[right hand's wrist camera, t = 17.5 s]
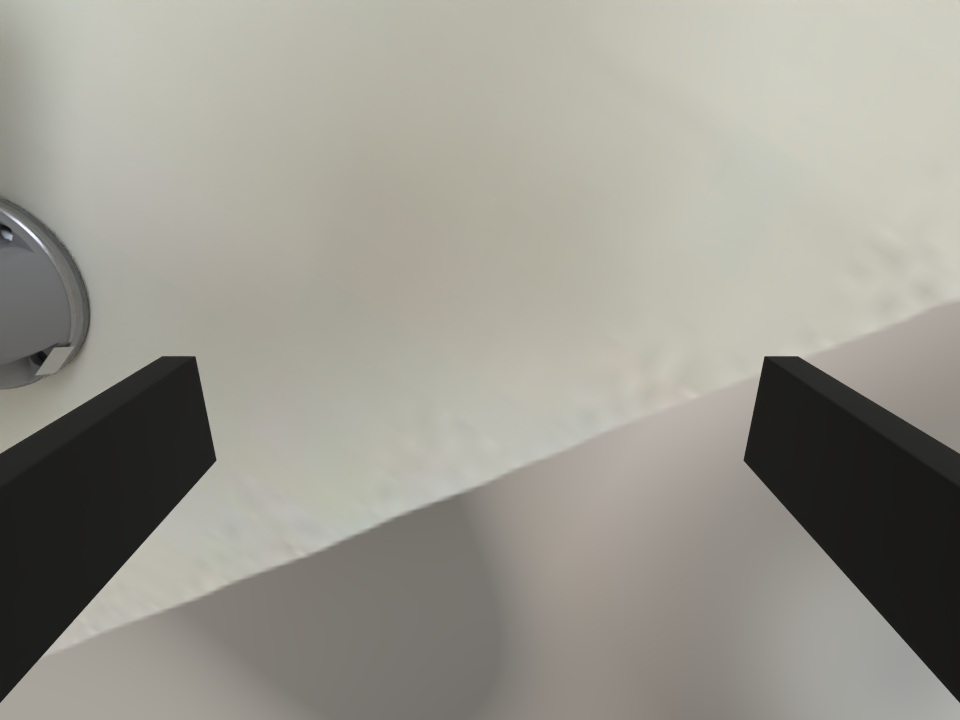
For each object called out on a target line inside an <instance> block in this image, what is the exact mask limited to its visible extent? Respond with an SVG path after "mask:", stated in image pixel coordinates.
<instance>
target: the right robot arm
mask: <svg viewBox="0 0 960 720" xmlns="http://www.w3.org/2000/svg"><path fill="white" fill-rule="evenodd" d="M88 321H89V307H88V299H87V294H86V290H85V287H84V283H83V281H82V278H81V276H80V273H79V271H78V269H77V267H76V265H75V263H74V261H73V260H72V258H71V256H70V255H69V253H68V252H67V250H66V249H65V248H64V246H63V245H62V244H61V243H60V241H59V240H58V239H57V238H56V237H55V235H54V234H53V233H52V232H51V231H50V230H49V229H48V228H47V227H46V226H44V225H43V224H42V223H41V222H40V221H39V220H38V219H36V218H35V217H34V216H32V215H31V214H30V213H28V212H27V211H25V210H24V209H22V208H20V207H19V206H17V205H15V204H13V203H12V202H10V201H8V200H6V199H3V198H1V197H0V390H1V389H12V388H18V387H22V386H26V385H29V384H32V383H34V382H36V381H38V380H40V379H42V378H44V377H46V376H48V375H50V374H54V373H56V372H57V371H58V370H60V369H61V368H63V367H64V366H65V365H67V364H68V363H69V362H70V361H71V360H72V359H73V358H74V357H75V355H76V354H77V353H78V351H79V350H80V348H81V346H82V344H83V342H84V339H85V336H86V333H87V328H88ZM215 461H216V456H215V451H214V446H213V441H212V436H211V431H210V426H209V421H208V416H207V412H206V407H205V402H204V397H203V392H202V387H201V382H200V377H199V372H198V367H197V362H196V357H195V356H162V357H160V358H159V359H157V360H155V361H154V362H152V363H150V364H149V365H147V366H145V367H144V368H142V369H140V370H139V371H137V372H135V373H134V374H132V375H130V376H129V377H127V378H125V379H124V380H122V381H121V382H119V383H117V384H116V385H114V386H112V387H111V388H109V389H107V390H106V391H104V392H102V393H101V394H99V395H97V396H96V397H94V398H92V399H91V400H89V401H87V402H86V403H84V404H82V405H81V406H79V407H77V408H76V409H74V410H72V411H71V412H69V413H67V414H66V415H64V416H62V417H61V418H59V419H57V420H56V421H54V422H52V423H51V424H49V425H47V426H46V427H44V428H42V429H41V430H39V431H37V432H36V433H34V434H33V435H31V436H29V437H28V438H26V439H24V440H23V441H21V442H19V443H18V444H16V445H14V446H13V447H11V448H9V449H8V450H6V451H4V452H3V453H1V454H0V702H1V701H2V700H3V699H4V698H5V697H6V696H7V695H8V693H9V692H10V691H11V690H12V689H13V688H14V687H15V686H16V684H17V683H18V682H19V681H20V680H21V679H22V678H23V677H24V676H25V674H26V673H27V672H28V671H29V670H30V669H31V668H32V666H33V665H34V664H35V663H36V662H37V661H38V660H39V659H40V658H41V656H42V655H43V654H44V653H45V652H46V651H47V650H48V649H49V648H50V646H51V645H52V644H53V643H54V642H55V641H56V640H57V639H58V637H59V636H60V635H61V634H62V633H63V632H64V631H65V630H66V628H67V627H68V626H69V625H70V624H71V623H72V622H73V621H74V619H75V618H76V617H77V616H78V615H79V614H80V613H81V612H82V611H83V609H84V608H85V607H86V606H87V605H88V604H89V603H90V602H91V600H92V599H93V598H94V597H95V596H96V595H97V594H98V593H99V591H100V590H101V589H102V588H103V587H104V586H105V585H106V584H107V583H108V581H109V580H110V579H111V578H112V577H113V576H114V575H115V574H116V572H117V571H118V570H119V569H120V568H121V567H122V566H123V565H124V563H125V562H126V561H127V560H128V559H129V558H130V557H131V556H132V554H133V553H134V552H135V551H136V550H137V549H138V548H139V547H140V546H141V544H142V543H143V542H144V541H145V540H146V539H147V538H148V537H149V535H150V534H151V533H152V532H153V531H154V530H155V529H156V528H157V526H158V525H159V524H160V523H161V522H162V521H163V520H164V519H165V518H166V516H167V515H168V514H169V513H170V512H171V511H172V510H173V509H174V507H175V506H176V505H177V504H178V503H179V502H180V501H181V500H182V498H183V497H184V496H185V495H186V494H187V493H188V492H189V491H190V489H191V488H192V487H193V486H194V485H195V484H196V483H197V482H198V481H199V479H200V478H201V477H202V476H203V475H204V474H205V473H206V472H207V470H208V469H209V468H210V467H211V466H212V465H213V464H214V463H215ZM744 461H745V463H746V464H747V465H748V466H749V467H750V468H751V469H752V470H753V472H754V473H755V474H756V475H757V476H758V477H759V478H760V479H761V481H762V482H763V483H764V484H765V485H766V486H767V487H768V488H769V489H770V491H771V492H772V493H773V494H774V495H775V496H776V497H777V498H778V500H779V501H780V502H781V503H782V504H783V505H784V506H785V507H786V509H787V510H788V511H789V512H790V513H791V514H792V515H793V516H794V517H795V519H796V520H797V521H798V522H799V523H800V524H801V525H802V526H803V527H804V529H805V530H806V531H807V532H808V533H809V534H810V535H811V537H812V538H813V539H814V540H815V541H816V542H817V543H818V544H819V546H820V547H821V548H822V549H823V550H824V551H825V552H826V553H827V554H828V556H829V557H830V558H831V559H832V560H833V561H834V562H835V563H836V565H837V566H838V567H839V568H840V569H841V570H842V571H843V572H844V574H845V575H846V576H847V577H848V578H849V579H850V580H851V581H852V583H853V584H854V585H855V586H856V587H857V588H858V589H859V590H860V591H861V593H862V594H863V595H864V596H865V597H866V598H867V599H868V600H869V602H870V603H871V604H872V605H873V606H874V607H875V608H876V609H877V610H878V612H879V613H880V614H881V615H882V616H883V617H884V618H885V619H886V621H887V622H888V623H889V624H890V625H891V626H892V627H893V628H894V630H895V631H896V632H897V633H898V634H899V635H900V636H901V637H902V639H903V640H904V641H905V642H906V643H907V644H908V645H909V646H910V648H911V649H912V650H913V651H914V652H915V653H916V654H917V655H918V656H919V658H920V659H921V660H922V661H923V662H924V663H925V664H926V665H927V667H928V668H929V669H930V670H931V671H932V672H933V673H934V674H935V675H936V677H937V678H938V679H939V680H940V681H941V682H942V683H943V684H944V686H945V687H946V688H947V689H948V690H949V691H950V692H951V693H952V695H953V696H954V697H955V698H956V699H957V700H958V701H959V702H960V454H959V453H957V452H956V451H954V450H952V449H951V448H949V447H947V446H946V445H944V444H942V443H941V442H939V441H937V440H936V439H934V438H932V437H931V436H929V435H927V434H926V433H924V432H922V431H921V430H919V429H918V428H916V427H914V426H912V425H911V424H909V423H908V422H906V421H904V420H903V419H901V418H899V417H898V416H896V415H894V414H893V413H891V412H889V411H888V410H886V409H884V408H883V407H881V406H879V405H878V404H876V403H874V402H873V401H871V400H869V399H868V398H866V397H864V396H863V395H861V394H859V393H858V392H856V391H854V390H853V389H851V388H849V387H848V386H846V385H844V384H843V383H841V382H839V381H838V380H836V379H835V378H833V377H831V376H830V375H828V374H826V373H824V372H823V371H821V370H820V369H818V368H816V367H815V366H813V365H811V364H810V363H808V362H806V361H805V360H803V359H801V358H800V357H798V356H765V357H764V362H763V367H762V372H761V377H760V382H759V387H758V392H757V397H756V402H755V407H754V412H753V417H752V421H751V427H750V431H749V436H748V442H747V446H746V451H745V456H744Z"/></svg>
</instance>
